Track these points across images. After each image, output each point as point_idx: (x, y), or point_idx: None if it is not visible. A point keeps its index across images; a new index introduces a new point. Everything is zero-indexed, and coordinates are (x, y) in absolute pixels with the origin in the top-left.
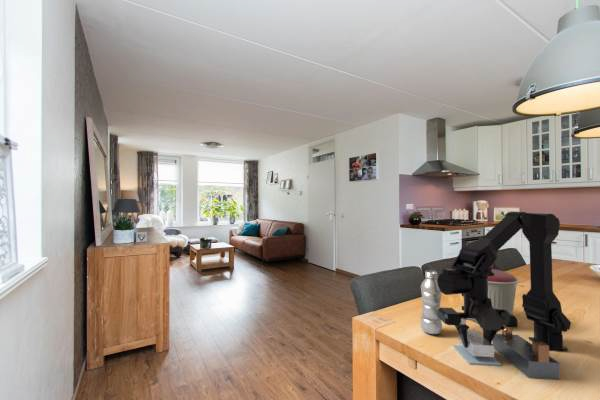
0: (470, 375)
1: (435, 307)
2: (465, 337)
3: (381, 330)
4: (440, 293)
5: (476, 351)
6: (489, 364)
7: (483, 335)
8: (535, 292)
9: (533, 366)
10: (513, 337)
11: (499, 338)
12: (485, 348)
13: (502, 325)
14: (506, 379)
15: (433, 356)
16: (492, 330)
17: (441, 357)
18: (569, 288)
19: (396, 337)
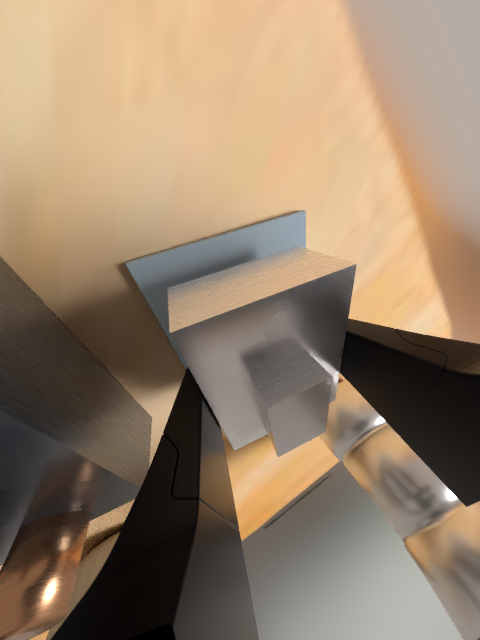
0: (352, 39)
1: (447, 507)
2: (381, 333)
3: (445, 337)
4: None
5: (293, 260)
6: (198, 242)
7: (221, 439)
8: None
9: None
10: (7, 538)
11: (108, 476)
12: (242, 290)
13: (99, 551)
14: (100, 19)
15: (410, 232)
16: (184, 567)
17: (386, 236)
18: None
19: (436, 318)
